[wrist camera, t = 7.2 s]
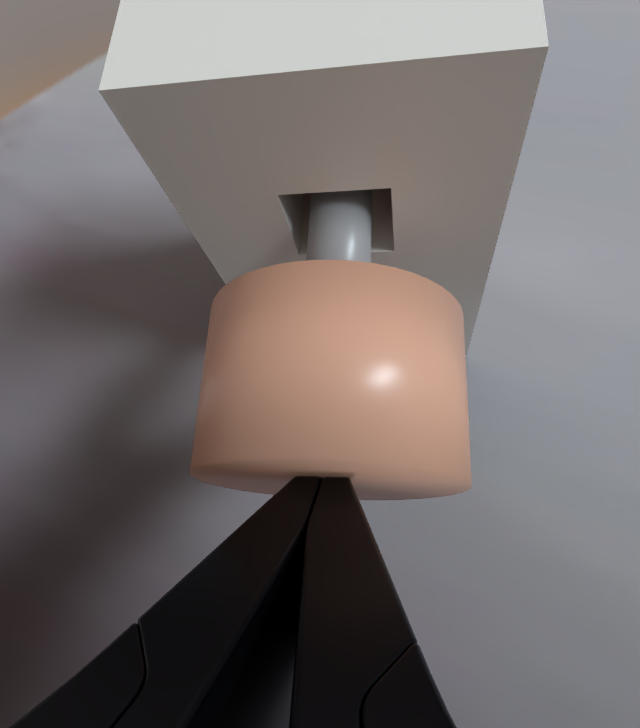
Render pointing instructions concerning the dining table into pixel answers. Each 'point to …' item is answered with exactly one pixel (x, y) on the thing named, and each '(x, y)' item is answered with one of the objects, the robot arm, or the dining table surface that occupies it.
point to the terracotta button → (335, 371)
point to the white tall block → (333, 122)
